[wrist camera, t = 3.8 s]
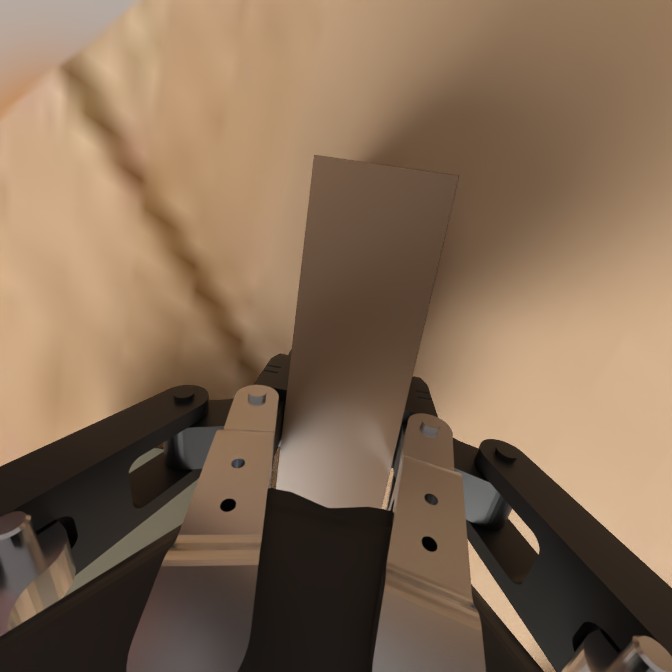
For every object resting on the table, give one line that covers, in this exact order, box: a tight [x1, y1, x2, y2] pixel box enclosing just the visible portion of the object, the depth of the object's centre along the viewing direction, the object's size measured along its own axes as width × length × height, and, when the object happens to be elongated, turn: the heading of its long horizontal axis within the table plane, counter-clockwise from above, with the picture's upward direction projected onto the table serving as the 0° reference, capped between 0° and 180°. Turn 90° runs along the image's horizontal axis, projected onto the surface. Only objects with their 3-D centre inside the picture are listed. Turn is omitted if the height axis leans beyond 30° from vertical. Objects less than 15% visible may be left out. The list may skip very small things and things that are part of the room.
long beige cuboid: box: [276, 155, 459, 509], centre depth 12 cm, size 4×14×5 cm, turn 172°
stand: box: [64, 448, 199, 597], centre depth 16 cm, size 10×14×12 cm
